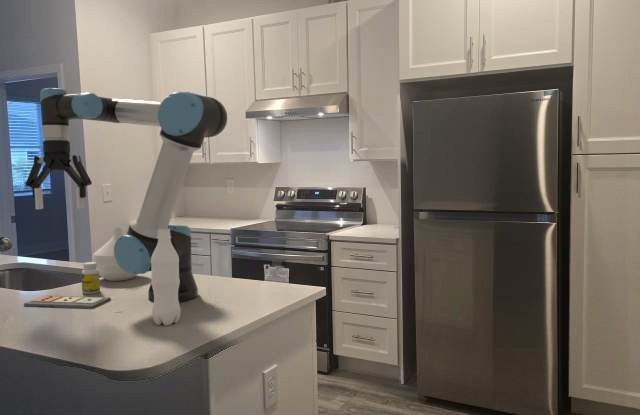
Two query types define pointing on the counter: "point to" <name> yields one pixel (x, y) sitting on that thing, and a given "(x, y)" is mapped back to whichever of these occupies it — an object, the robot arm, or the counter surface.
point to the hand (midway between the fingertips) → (60, 208)
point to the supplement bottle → (90, 278)
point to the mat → (68, 301)
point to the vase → (110, 260)
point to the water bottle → (165, 280)
